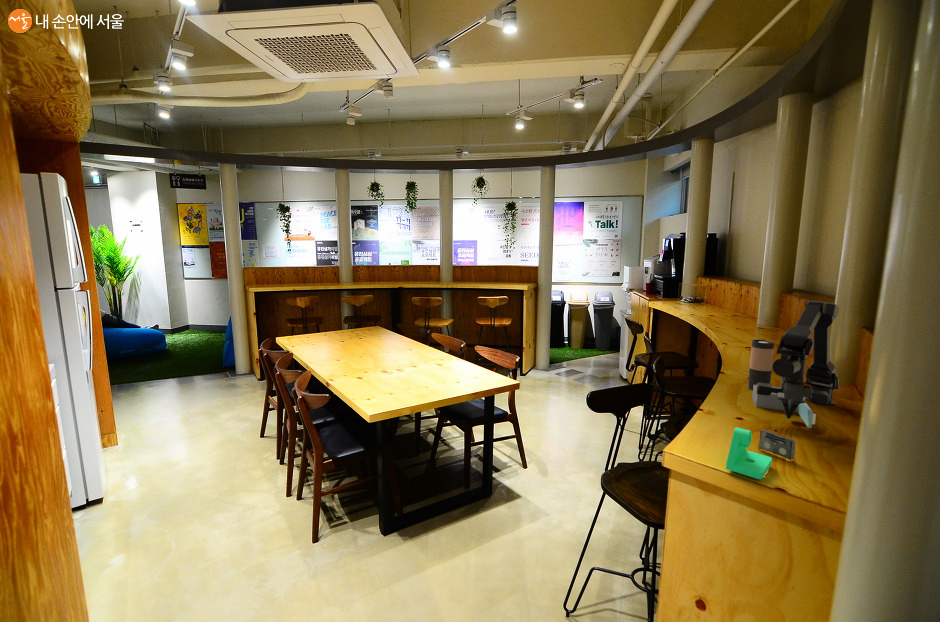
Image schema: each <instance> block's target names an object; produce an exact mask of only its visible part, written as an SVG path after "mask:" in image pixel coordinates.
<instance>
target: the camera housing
mask: <svg viewBox="0 0 940 622" xmlns="http://www.w3.org/2000/svg"><path fill="white" fill-rule="evenodd" d="M774 387H775V388H780V387H778V386H774ZM783 392H784V391H783ZM751 398H752V401H753V403H754V406H755V407H756V408H763V409H770V410H778V411H784V412H785V409H784V406H783V403H782V401H781V400H778V399H777V396H776V393H771V394H770V395H769V396H766V395H759V394H757V393H756V385H754V386H753V390H752V397H751ZM790 403H791V399H790V400H789V403H788V405H789V408H790ZM794 413H798V412H797V408H796V409H795V411H794Z"/></svg>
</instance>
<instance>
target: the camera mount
mask: <svg viewBox="0 0 940 622" xmlns="http://www.w3.org/2000/svg"><path fill="white" fill-rule="evenodd" d="M752 437H753V432H752V431H751V430H749V429H744V428H740V427H735V428H734V429H733V434H732V439H731V441H730V445H729V447H730V448H729V451H728V455H727V459H726V463H725V464H726V465H725V469H726V470H729V471H732V472H735V473H738V474H741V475H744V476H748V477H750V478H753V479H756V480H762V479H764V478H763V476H764V475H765V473H766V472H767V470H768V469H769V470H770V468H771V466H772V463H773V458H772V457H771V456H768V455H764V454H760V453H757V452H753V451H750V450H747V448H748V449H749V448H750V446H751V443H752ZM769 467H770V468H769Z"/></svg>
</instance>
